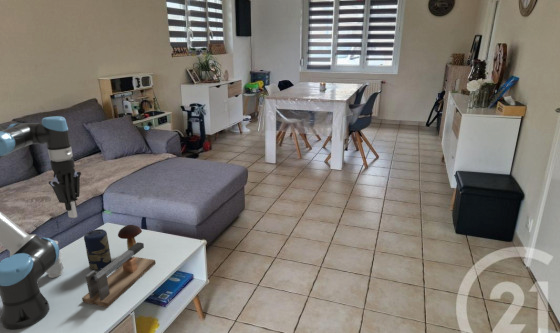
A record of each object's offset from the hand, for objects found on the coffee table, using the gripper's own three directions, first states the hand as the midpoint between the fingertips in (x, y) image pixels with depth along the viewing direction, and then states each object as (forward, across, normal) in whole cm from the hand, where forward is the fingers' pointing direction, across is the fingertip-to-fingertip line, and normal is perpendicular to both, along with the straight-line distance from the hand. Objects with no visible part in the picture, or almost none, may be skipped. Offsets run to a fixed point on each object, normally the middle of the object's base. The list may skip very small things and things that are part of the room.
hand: (73, 216), depth 143 cm
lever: (+26, +10, -9) cm, 29 cm away
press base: (+34, +10, -9) cm, 37 cm away
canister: (+35, +18, +9) cm, 40 cm away
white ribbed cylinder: (+35, +7, +24) cm, 43 cm away
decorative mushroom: (+35, +32, +2) cm, 47 cm away
